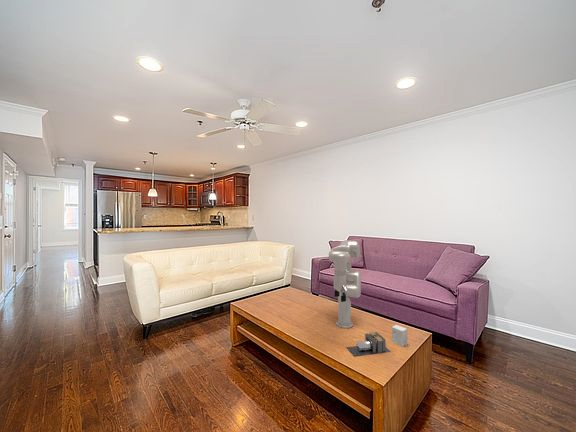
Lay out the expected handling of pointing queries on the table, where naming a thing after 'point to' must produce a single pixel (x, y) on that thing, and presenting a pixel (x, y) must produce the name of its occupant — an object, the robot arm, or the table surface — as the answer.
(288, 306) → the table surface
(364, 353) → the rail
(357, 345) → the tube
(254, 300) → the table surface
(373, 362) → the table surface
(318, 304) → the table surface
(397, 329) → the small box
